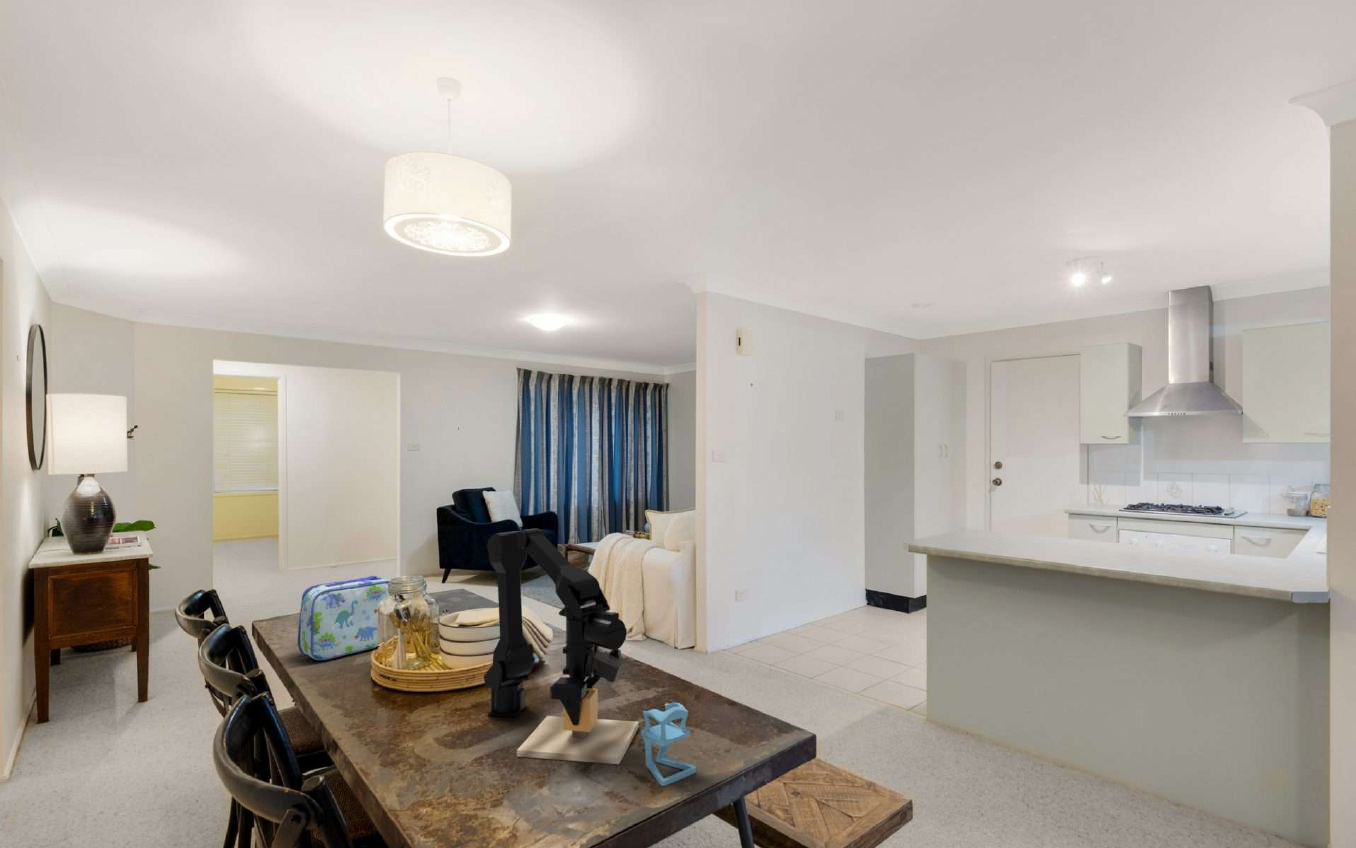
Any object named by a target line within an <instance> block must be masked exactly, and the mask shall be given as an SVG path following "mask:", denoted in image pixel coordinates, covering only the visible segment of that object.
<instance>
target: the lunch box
mask: <svg viewBox="0 0 1356 848" xmlns="http://www.w3.org/2000/svg"><path fill="white" fill-rule="evenodd" d="M390 581H392V580H390V579H386V578H383V577H378V576H377V575H370V576H367V577H362V578H357V579H350V580H344V581H336V582H335V581H333V582H328V583H319V584H315V585H311V586H309V587H307V588H306V589H305V590H304V591H303V593H302V595H301V603H300V611H299V612H300V613H299V620H298V628H297V629H298V631H297V646H298V649H299V652H300V654H302V655H304V656H309V657H310V658H312V659H313V660H317V661H327V660H332V659H335V658H340V657H343V656H347V655H348V656H349V655H350V654H351V655H352V654H355V653H360V652H363V651H368V650H372V649H376V647H377V645H378V602H380V601H381V600H383V599H385V598H387V597H388V595H389V593H388V584H389V582H390ZM377 648H378V647H377Z"/></svg>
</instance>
